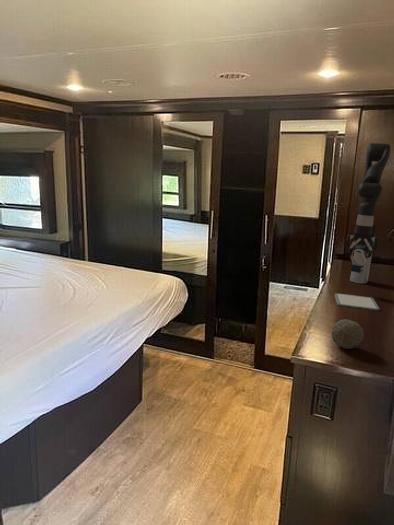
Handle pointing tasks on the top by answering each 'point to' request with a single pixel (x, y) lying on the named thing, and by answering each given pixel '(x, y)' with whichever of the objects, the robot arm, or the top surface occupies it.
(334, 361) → the top surface
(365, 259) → the watch
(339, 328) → the decorative stone
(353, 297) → the mat
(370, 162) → the robot arm
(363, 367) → the top surface
